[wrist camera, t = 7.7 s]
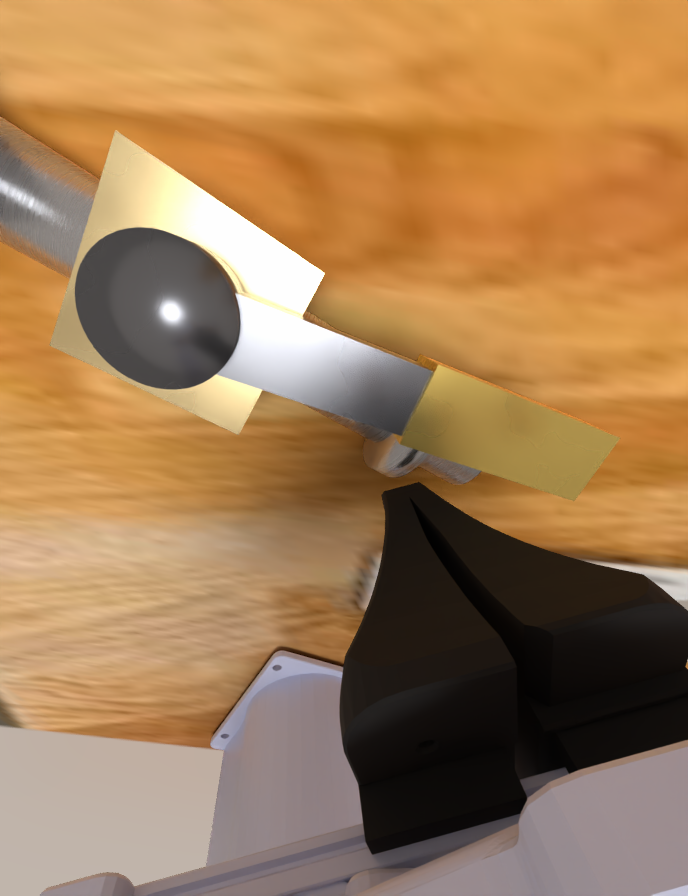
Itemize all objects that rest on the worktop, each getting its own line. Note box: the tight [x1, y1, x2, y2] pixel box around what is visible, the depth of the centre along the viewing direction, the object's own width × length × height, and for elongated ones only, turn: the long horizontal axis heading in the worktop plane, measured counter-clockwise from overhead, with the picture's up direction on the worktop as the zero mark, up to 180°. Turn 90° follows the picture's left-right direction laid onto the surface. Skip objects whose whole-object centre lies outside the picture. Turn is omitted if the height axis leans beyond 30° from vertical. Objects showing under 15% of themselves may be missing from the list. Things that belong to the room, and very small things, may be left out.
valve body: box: [0, 116, 481, 485], centre depth 10 cm, size 5×22×4 cm, turn 59°
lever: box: [75, 227, 620, 501], centre depth 9 cm, size 14×3×2 cm, turn 69°
